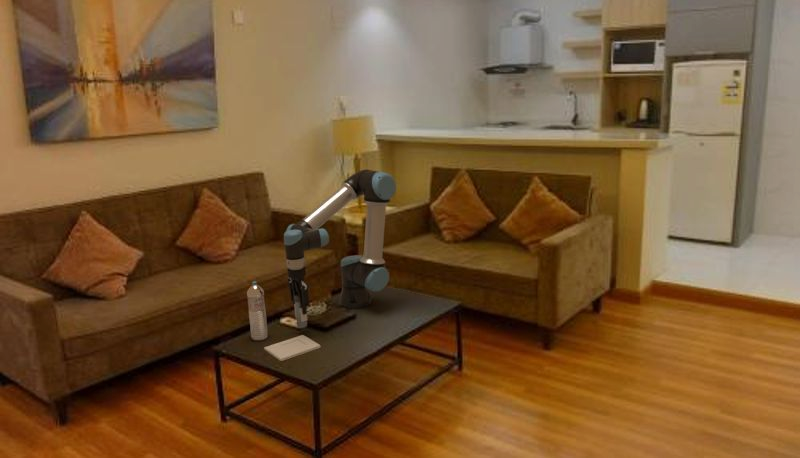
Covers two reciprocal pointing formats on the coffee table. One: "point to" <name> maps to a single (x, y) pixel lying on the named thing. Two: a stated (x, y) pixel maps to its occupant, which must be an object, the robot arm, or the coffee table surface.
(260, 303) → the water bottle
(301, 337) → the notepad
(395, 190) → the robot arm
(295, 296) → the cylinder
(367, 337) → the coffee table surface
